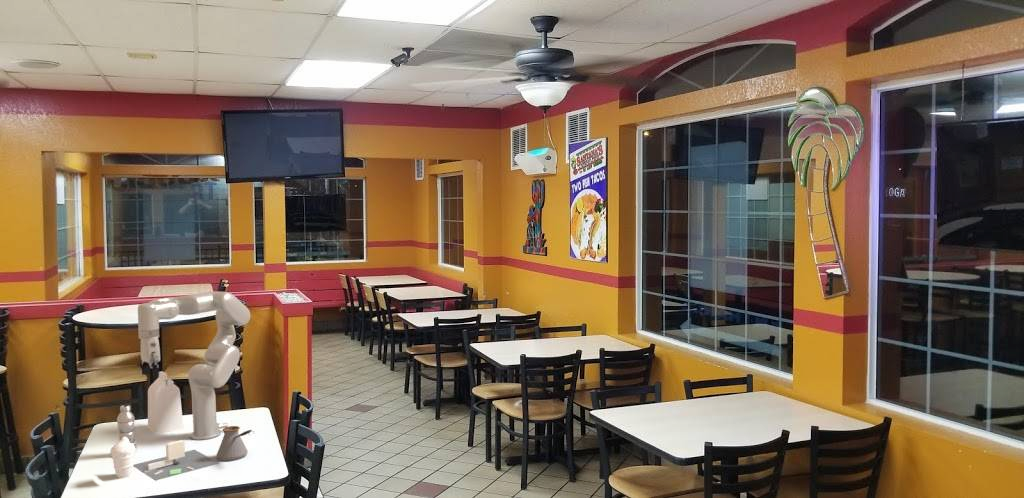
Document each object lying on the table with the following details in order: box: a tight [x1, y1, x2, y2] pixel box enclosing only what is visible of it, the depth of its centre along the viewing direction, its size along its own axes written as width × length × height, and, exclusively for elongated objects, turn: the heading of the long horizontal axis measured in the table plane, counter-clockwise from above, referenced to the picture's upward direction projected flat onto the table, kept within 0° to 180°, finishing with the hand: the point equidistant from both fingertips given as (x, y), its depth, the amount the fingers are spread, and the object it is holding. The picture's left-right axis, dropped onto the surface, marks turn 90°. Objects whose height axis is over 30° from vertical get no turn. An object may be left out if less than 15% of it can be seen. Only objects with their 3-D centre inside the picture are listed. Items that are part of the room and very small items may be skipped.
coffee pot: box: [216, 425, 255, 462], centre depth 293 cm, size 21×12×15 cm, turn 49°
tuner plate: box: [133, 449, 221, 481], centre depth 289 cm, size 24×24×2 cm
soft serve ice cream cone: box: [109, 437, 137, 479], centre depth 277 cm, size 8×8×16 cm
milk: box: [147, 370, 184, 436], centre depth 340 cm, size 12×12×26 cm
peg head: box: [148, 439, 186, 470], centre depth 286 cm, size 13×2×8 cm, turn 135°
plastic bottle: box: [116, 404, 138, 452], centre depth 306 cm, size 6×7×20 cm
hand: (150, 375), depth 304 cm, fingers open, 9 cm apart
